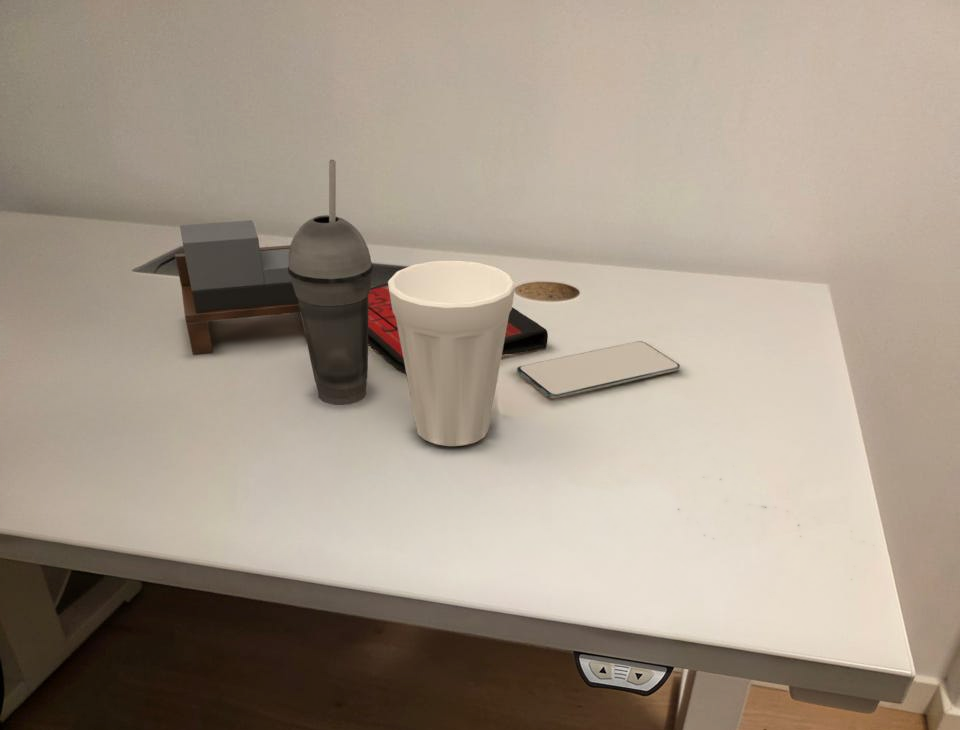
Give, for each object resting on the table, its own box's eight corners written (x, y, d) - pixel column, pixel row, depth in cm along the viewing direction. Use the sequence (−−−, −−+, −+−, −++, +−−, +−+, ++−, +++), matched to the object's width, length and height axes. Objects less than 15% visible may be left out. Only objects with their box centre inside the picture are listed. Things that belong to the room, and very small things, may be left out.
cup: (372, 429, 79) (361, 278, 71) (458, 396, 84) (458, 251, 76) (445, 474, 74) (443, 316, 65) (533, 435, 79) (541, 284, 70)
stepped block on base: (196, 312, 89) (182, 243, 84) (192, 291, 93) (179, 224, 89) (317, 301, 91) (310, 233, 87) (309, 280, 96) (301, 215, 91)
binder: (451, 263, 105) (549, 327, 91) (452, 283, 106) (549, 349, 93) (323, 292, 99) (407, 365, 85) (326, 313, 101) (409, 387, 87)
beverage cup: (335, 370, 88) (313, 142, 75) (396, 388, 85) (384, 155, 72) (286, 399, 83) (254, 161, 70) (350, 419, 81) (328, 175, 68)
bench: (192, 354, 91) (178, 284, 86) (188, 321, 97) (174, 253, 92) (331, 340, 94) (324, 271, 89) (318, 308, 100) (311, 243, 96)
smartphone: (514, 366, 88) (642, 340, 93) (514, 372, 88) (641, 345, 93) (550, 396, 83) (682, 366, 88) (550, 401, 84) (681, 371, 89)
